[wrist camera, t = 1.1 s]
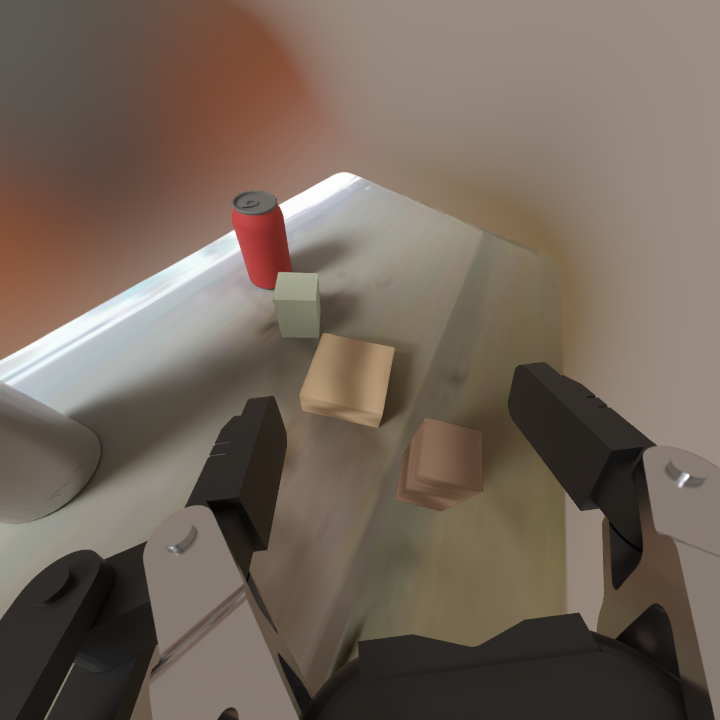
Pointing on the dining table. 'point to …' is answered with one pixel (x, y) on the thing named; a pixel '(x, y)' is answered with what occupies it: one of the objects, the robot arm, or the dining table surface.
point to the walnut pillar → (441, 466)
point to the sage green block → (297, 304)
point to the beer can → (261, 236)
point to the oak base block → (348, 380)
